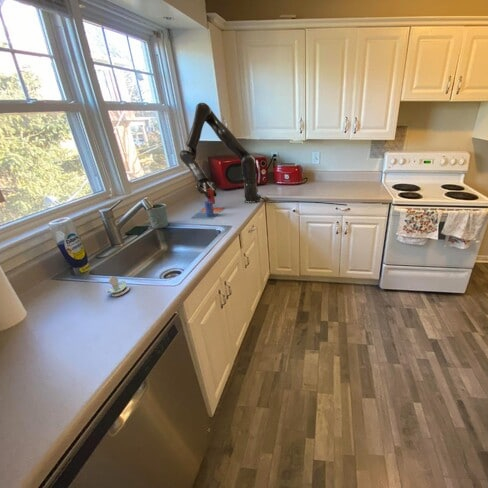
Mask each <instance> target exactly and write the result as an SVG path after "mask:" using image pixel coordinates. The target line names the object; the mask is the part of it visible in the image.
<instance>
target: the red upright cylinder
mask: <svg viewBox="0 0 488 488" xmlns="http://www.w3.org/2000/svg"><path fill="white" fill-rule="evenodd" d="M206 192H208V194H209V196H210V197H209V198H207V197H206V199H207V201H212V204H213V205H215V204H216V199H215V196H214V190H209V189H206Z"/></svg>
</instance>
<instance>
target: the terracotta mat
mask: <svg viewBox="0 0 488 488" xmlns="http://www.w3.org/2000/svg"><path fill="white" fill-rule="evenodd" d="M224 209H225V207H217V206H216V207H215V206H213V211H214V213H220V212H221V211H222V210H224ZM201 212H206V209H205V207H204V208H203V209H201Z"/></svg>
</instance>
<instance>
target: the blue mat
mask: <svg viewBox="0 0 488 488" xmlns="http://www.w3.org/2000/svg"><path fill="white" fill-rule="evenodd" d="M218 213H219V212H214V216H213V217H207V215H206V212H198V213H196V214H195V215H194V216H192V217H191V218H192V219H214V218H215V217H216V216H217V215H218Z"/></svg>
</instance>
